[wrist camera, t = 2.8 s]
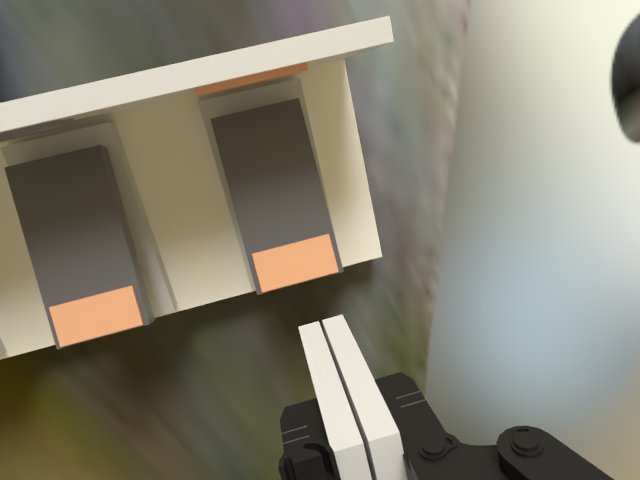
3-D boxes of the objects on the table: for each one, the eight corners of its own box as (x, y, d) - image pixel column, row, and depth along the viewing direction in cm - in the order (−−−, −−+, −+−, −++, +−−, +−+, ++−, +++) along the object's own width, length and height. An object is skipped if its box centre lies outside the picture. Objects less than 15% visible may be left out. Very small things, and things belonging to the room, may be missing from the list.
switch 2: (257, 292, 29) (257, 295, 27) (212, 123, 28) (209, 118, 27) (340, 270, 29) (344, 272, 28) (297, 103, 29) (299, 96, 27)
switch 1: (65, 344, 28) (55, 350, 26) (15, 169, 27) (2, 166, 26) (154, 320, 28) (148, 325, 27) (107, 148, 28) (98, 144, 26)
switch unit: (-107, 371, 34) (-304, 529, 21) (-220, 171, 29) (-549, 226, 17) (370, 244, 37) (438, 318, 24) (331, 46, 32) (389, 15, 20)
